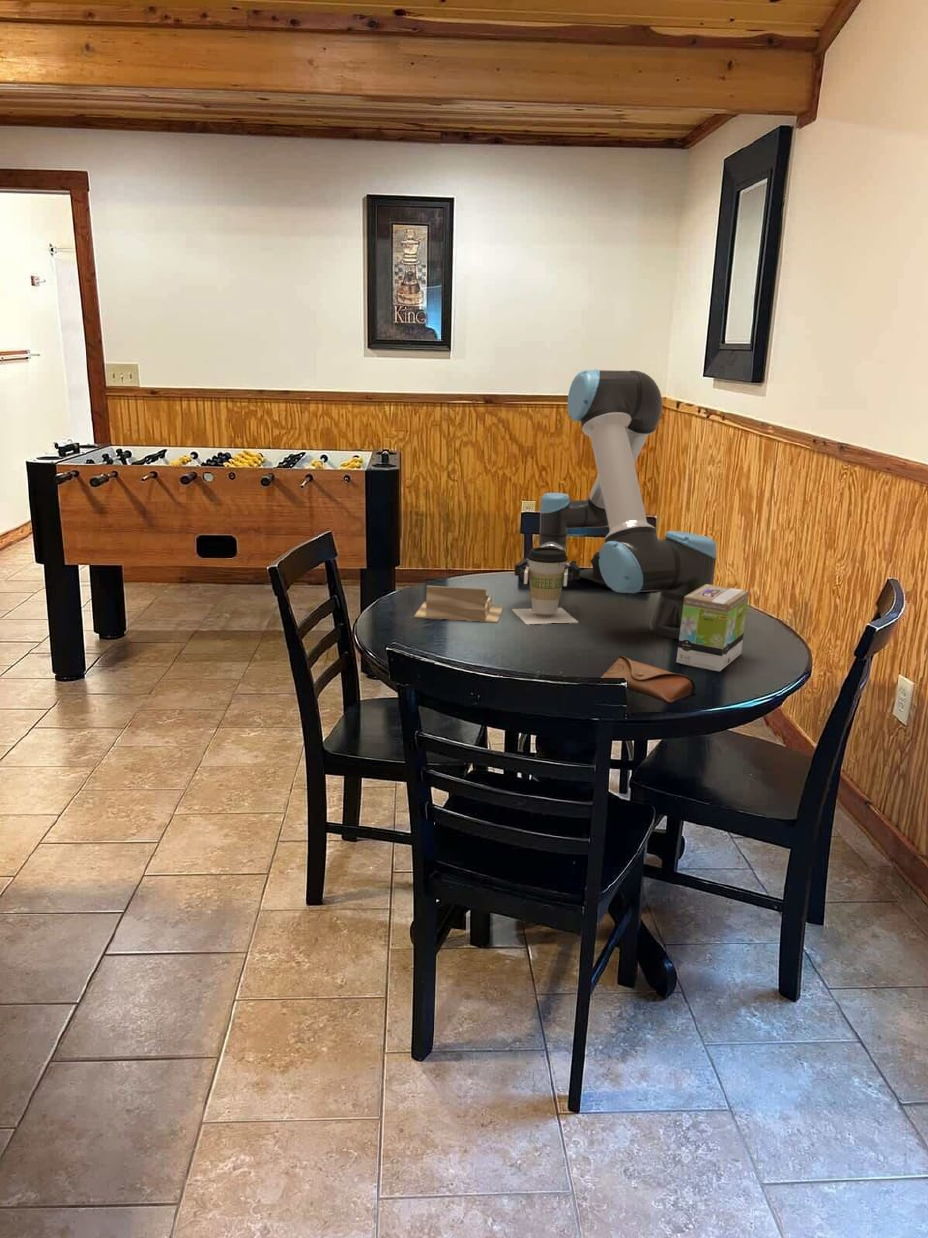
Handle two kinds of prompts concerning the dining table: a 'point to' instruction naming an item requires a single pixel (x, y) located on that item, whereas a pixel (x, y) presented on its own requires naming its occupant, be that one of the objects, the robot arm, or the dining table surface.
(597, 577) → the black brimmed hat
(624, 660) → the sunglasses case
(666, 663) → the dining table surface
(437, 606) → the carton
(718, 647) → the tea box
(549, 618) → the mat
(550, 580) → the coffee cup
